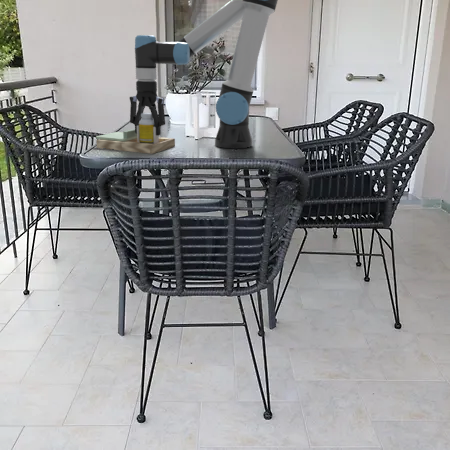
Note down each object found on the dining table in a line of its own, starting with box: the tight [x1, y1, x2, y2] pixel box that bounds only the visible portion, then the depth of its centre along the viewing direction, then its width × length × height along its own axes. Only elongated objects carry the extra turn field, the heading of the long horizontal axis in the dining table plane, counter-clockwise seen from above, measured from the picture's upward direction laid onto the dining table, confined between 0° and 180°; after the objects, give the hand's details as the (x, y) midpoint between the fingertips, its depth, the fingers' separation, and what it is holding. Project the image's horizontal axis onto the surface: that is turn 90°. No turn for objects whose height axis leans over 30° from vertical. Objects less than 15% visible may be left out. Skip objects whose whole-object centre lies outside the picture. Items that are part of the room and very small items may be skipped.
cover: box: [95, 128, 137, 141], centre depth 186 cm, size 13×14×3 cm
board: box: [95, 136, 176, 155], centre depth 185 cm, size 24×18×3 cm
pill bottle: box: [139, 112, 155, 144], centre depth 181 cm, size 6×6×12 cm
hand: (148, 143), depth 183 cm, fingers closed on pill bottle, 6 cm apart
